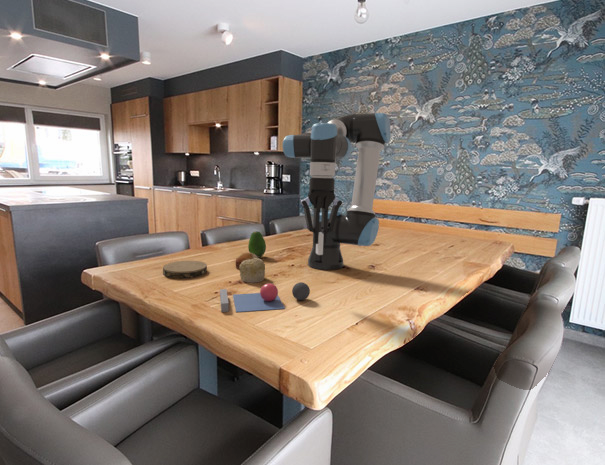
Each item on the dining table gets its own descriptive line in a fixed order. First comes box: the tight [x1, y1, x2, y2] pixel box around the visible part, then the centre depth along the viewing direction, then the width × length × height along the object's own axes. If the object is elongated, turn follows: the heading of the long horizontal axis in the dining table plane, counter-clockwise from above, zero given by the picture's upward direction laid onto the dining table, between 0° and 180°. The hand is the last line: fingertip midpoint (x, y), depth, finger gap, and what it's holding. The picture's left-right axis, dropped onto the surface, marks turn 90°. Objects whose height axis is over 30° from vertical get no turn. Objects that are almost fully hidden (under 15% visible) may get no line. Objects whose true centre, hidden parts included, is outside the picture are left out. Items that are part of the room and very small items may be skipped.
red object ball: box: [259, 282, 279, 302], centre depth 108 cm, size 6×6×6 cm
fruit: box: [247, 230, 267, 258], centre depth 160 cm, size 8×8×12 cm
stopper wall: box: [219, 288, 230, 313], centre depth 105 cm, size 2×12×2 cm, turn 15°
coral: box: [238, 257, 266, 284], centre depth 129 cm, size 9×9×8 cm
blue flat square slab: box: [232, 292, 286, 313], centre depth 107 cm, size 14×14×1 cm
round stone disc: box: [162, 260, 208, 280], centre depth 135 cm, size 16×16×3 cm
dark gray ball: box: [292, 282, 311, 301], centre depth 110 cm, size 6×6×6 cm
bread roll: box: [234, 251, 259, 271], centre depth 145 cm, size 10×10×8 cm
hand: (319, 253), depth 110 cm, fingers closed
